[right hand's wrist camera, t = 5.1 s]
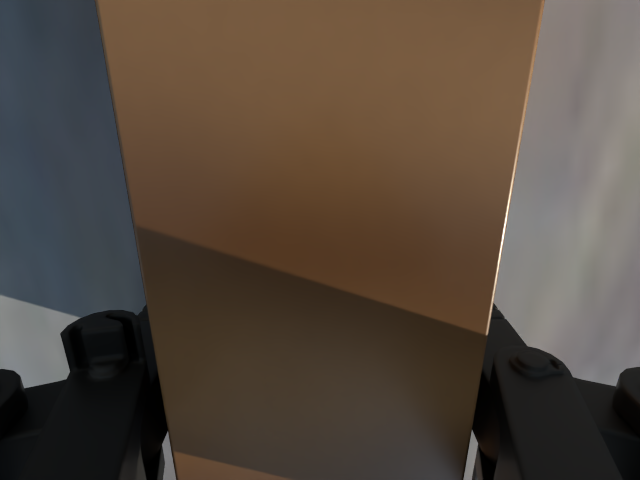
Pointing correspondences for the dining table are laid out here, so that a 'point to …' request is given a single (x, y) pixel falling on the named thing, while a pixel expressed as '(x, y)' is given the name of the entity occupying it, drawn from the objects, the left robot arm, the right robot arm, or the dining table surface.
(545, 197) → the dining table surface
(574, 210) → the dining table surface
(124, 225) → the dining table surface
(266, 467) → the board
